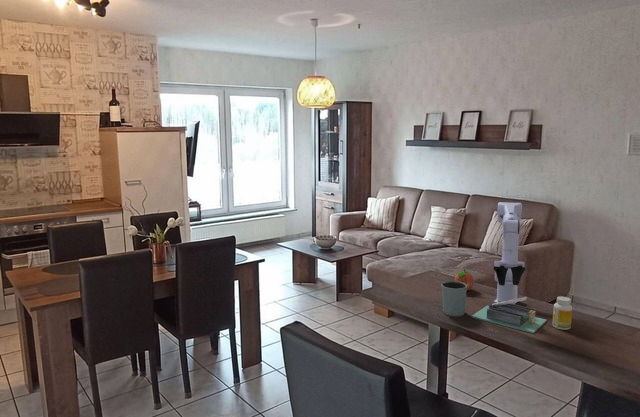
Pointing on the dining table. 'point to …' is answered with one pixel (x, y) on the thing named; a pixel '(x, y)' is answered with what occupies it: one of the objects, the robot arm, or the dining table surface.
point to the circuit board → (525, 327)
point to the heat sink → (511, 314)
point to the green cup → (454, 298)
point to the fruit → (465, 278)
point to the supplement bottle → (562, 313)
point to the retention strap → (509, 301)
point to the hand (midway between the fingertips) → (508, 285)
